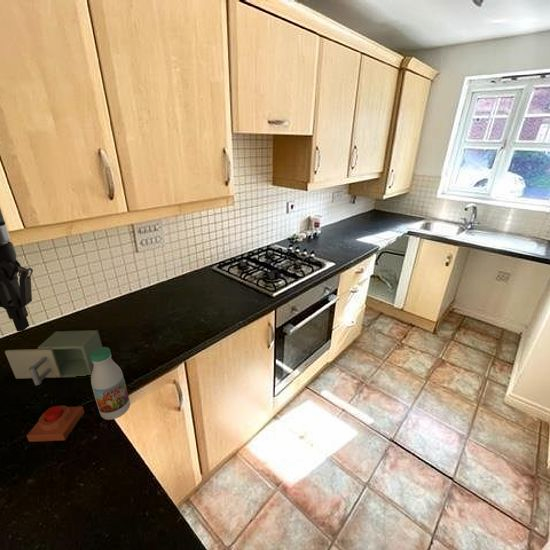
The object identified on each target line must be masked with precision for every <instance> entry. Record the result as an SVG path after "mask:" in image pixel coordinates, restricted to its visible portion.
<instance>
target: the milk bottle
mask: <svg viewBox="0 0 550 550" xmlns="http://www.w3.org/2000/svg"><path fill="white" fill-rule="evenodd" d="M90 357H91V360H92V363H93V364H94V366H93V371H92V375H91V376H90V383H91V388H92V392H93V395H94V399H95V402H96V406H97V409H98V413H99V415H100V417H101V418H102V419H104V420H109V421H111V420H116V419H119V418H121V417H122V416H123V415H125V414H126V413H127V412H128V410H129V409H130V407H131V401H130V396H129V393H128V389H127V384H126V380H125V377H124V374H123V371H122V369H121V367H120V366H119V365H118V364H117V363H116V362H115V361H114V360H113V358H112V352H111V349H110V348H109V347H108V346H102V347H100V348H97V349H95V350H93V351H92V352H91V354H90Z"/></svg>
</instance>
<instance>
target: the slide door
mask: <svg viewBox="0 0 550 550" xmlns="http://www.w3.org/2000/svg"><path fill="white" fill-rule="evenodd" d="M4 354H5V357H6V358H7V361H8V363H9V366H10V368H11V370H12V373H13V375H14V378H15V379H16V380H18V379H19V380H20V379H32V382H33V383H34V386H39V385H41V384H42V381H43V380H44V379H51V378H50V377H59V378H62V377H61V376H62V375H61V372H60V369H59V366H58V363H57V360H56V358H55V355H54V352H53V349H38V348H35V349H33V348H31V349H6V350H5V351H4Z"/></svg>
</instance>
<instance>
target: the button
mask: <svg viewBox="0 0 550 550" xmlns="http://www.w3.org/2000/svg"><path fill="white" fill-rule="evenodd" d="M59 406H60V405H55V406H51V407H49V408H48V409H46V411H44V412H43V413H44V416H45V419H46V421H48V422H52V421H54V420H57V419H58V418H59V417H61V416H62V410H61V407H59Z"/></svg>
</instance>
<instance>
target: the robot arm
mask: <svg viewBox="0 0 550 550" xmlns="http://www.w3.org/2000/svg"><path fill="white" fill-rule="evenodd" d="M11 239H12V238H11V236H10V232H9V229H8V227H7V224H6V221H5V218H4V215H3V212H2V209H1V208H0V308H3V309H4V310H5V311H6V314H7V316H8V319H9V320H12V322H13V325H14V328H15V330H16V332H24V331H25V330H26V329H27V328H29V327H30V323H29V321H28V318H27V317H29V312H28V310H27V307H26V306H27V305H29V304H31V302H32V301H33V293H32V292H33V291H32V275H33V272H34V269H33V268H31V267H28V268H26V267H24V266H21V263H20V262H19V261H18V260H17V252H16V249H15V247H14V243H13V242H12V241H11Z"/></svg>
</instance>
